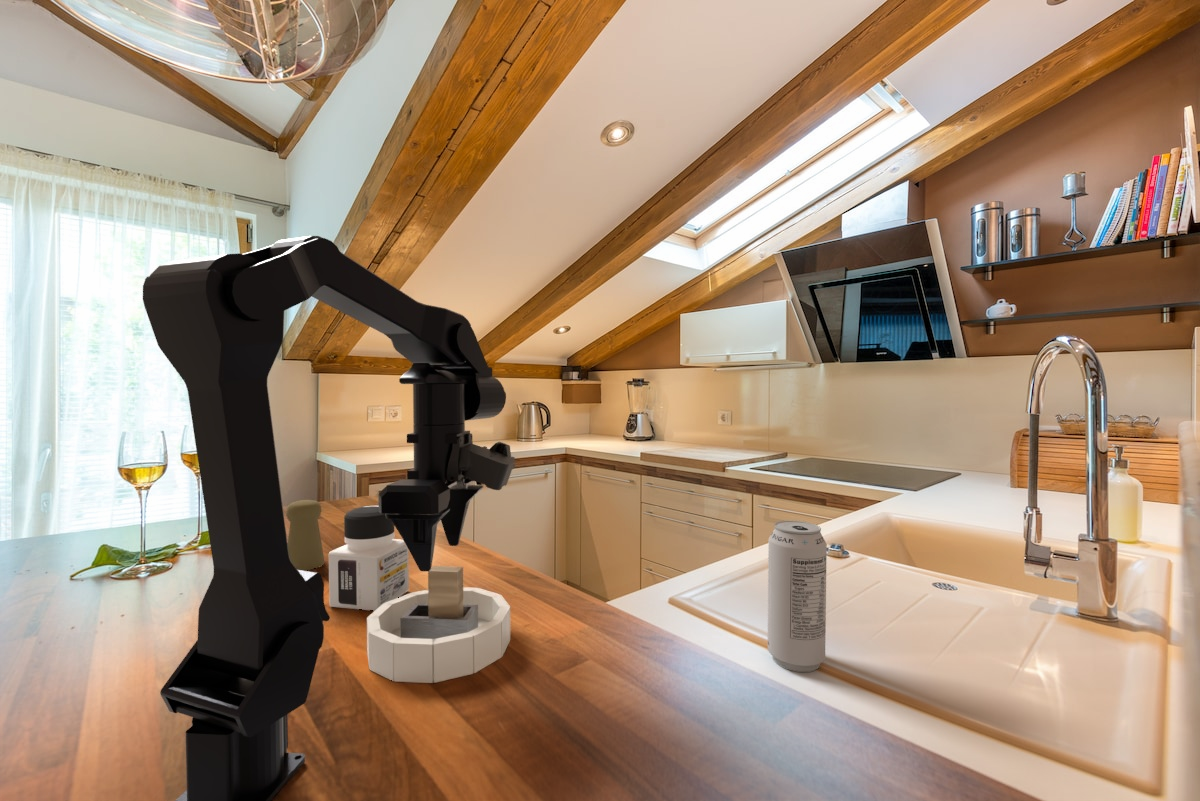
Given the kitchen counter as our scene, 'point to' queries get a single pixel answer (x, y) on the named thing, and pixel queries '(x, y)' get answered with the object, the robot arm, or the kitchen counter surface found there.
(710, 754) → the kitchen counter surface
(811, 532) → the energy drink can
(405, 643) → the white faceted bowl
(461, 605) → the wooden block
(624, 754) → the kitchen counter surface
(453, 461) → the robot arm
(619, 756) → the kitchen counter surface
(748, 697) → the kitchen counter surface
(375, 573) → the container
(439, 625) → the open rectangular box
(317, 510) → the cork
